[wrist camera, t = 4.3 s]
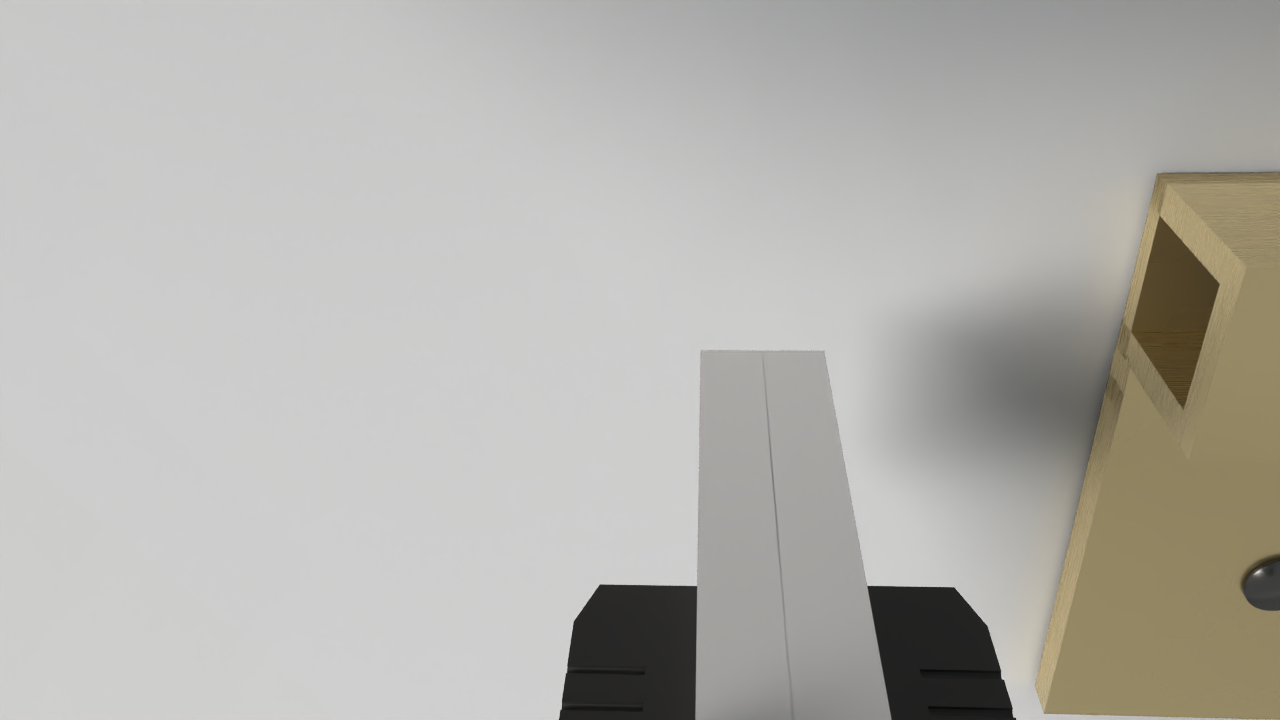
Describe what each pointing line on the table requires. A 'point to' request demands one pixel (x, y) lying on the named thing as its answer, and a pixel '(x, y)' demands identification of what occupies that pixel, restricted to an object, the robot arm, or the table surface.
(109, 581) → the table surface
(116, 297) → the table surface
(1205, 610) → the brass leaf
